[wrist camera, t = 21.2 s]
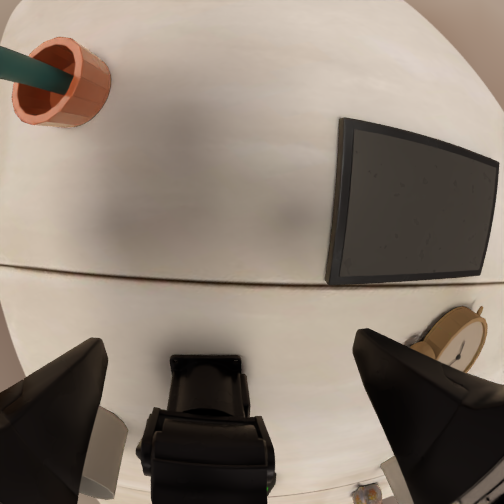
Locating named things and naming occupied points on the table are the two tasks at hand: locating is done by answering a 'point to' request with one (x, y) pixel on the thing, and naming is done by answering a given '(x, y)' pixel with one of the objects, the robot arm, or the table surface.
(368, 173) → the tablet
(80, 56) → the pen pot
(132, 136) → the table surface
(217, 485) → the robot arm
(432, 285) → the table surface
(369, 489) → the mug
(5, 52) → the stylus
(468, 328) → the alarm clock
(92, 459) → the cup
